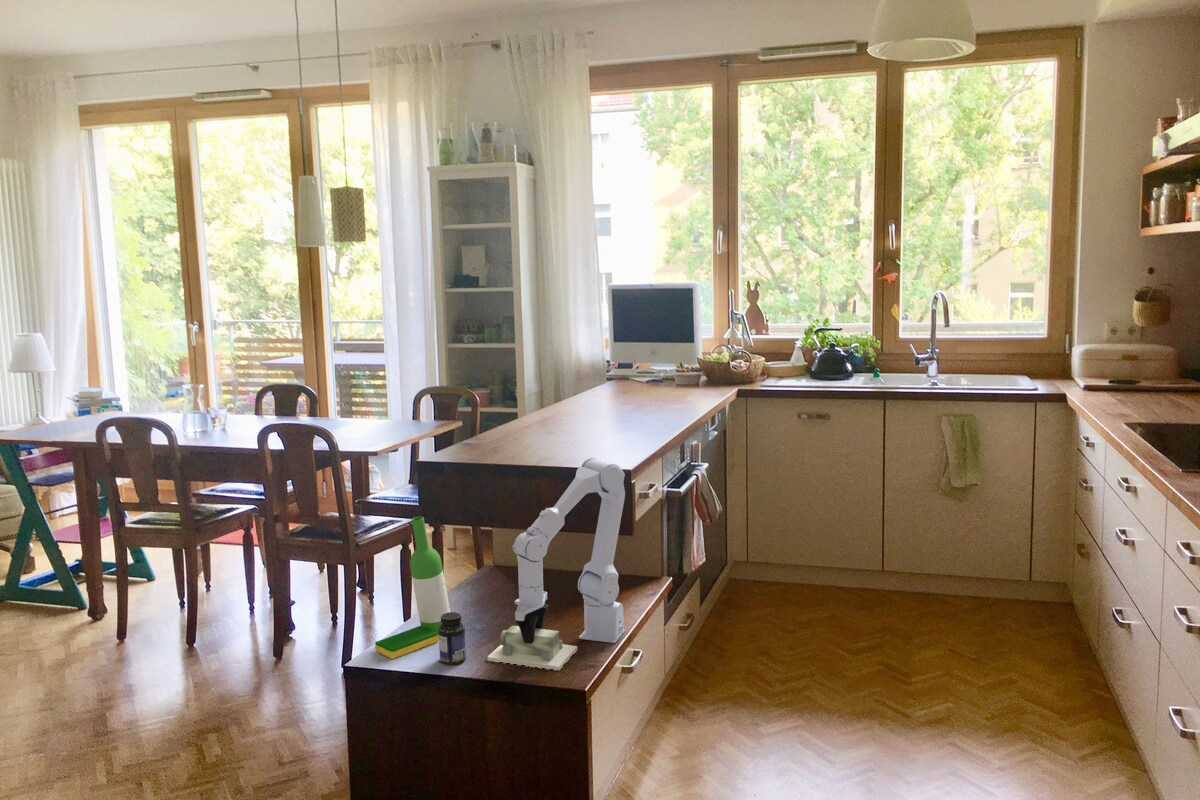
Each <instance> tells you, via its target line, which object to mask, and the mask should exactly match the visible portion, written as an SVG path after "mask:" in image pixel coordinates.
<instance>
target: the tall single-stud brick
mask: <svg viewBox="0 0 1200 800" xmlns="http://www.w3.org/2000/svg"><path fill="white" fill-rule="evenodd" d="M559 640H560V631H559V630H554V629H552V630H551V629H545V628H544V629H543V628H542V629H537V628H535V634H534V641H533V643H532V644H529V643H524V641H523V637H522V634H521V630H520V628H519V626H518V625H511V626H510V627H509V628H507V629H503V630H502V631H501V634H500V636H499V643H500V645H502V646H504V645H505V646H512V653H519V654H527V655H534V656H542V652H543V651H551V652H552V658H554V657H555V656H556V654H557V653H558V652H559Z"/></svg>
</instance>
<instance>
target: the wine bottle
mask: <svg viewBox="0 0 1200 800" xmlns="http://www.w3.org/2000/svg"><path fill="white" fill-rule="evenodd" d="M411 522H412V529H413V533H414V534H413V535H414V541H415V546H416V549H415V550H414V551H413V553H412V555H411V557H410V559H409V567H410V573H411V580H412V584H413V590H414V595H415V596H414V597H415V601H416V607H417V612H418V619H419V622H420V626H423V627H425V628H428V629H431V630H433V631H436V632H438V635H439V631H438V630H439V627H440V625H442V622H441V616H442V615H443V614H445V613H448V612H451V609H450V604H449V597H448V593H447V586H446V581H445V576H444V570H443V564H442V559H441V556H440V554H439V552H438V551H437V550H436V549H434V548H433V547H431V546H430V545H429V540H428V534H427V529H426V524H425V518H424V516H418V515H417V516H414V517H413V518H412V519H411Z"/></svg>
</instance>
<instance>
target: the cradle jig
mask: <svg viewBox="0 0 1200 800" xmlns="http://www.w3.org/2000/svg"><path fill="white" fill-rule="evenodd" d="M563 641H564V640H563V639H559V652H558V653H557V654H556V656H555V657H554V658H552V652H551V651H543V652H542V656H534V655H527V654H519V653H512V646H505V645H504V646H502V645H501V644H500V645H499V646H498V647H496V649H494V650H493V651H492V652H491V653H490V654H489V655H488V656H487V658H486V659H487V662H491V661H492V662H493V661H494V662H493V663H499V662H503V663H502V664H506V663H510V664H509V665H513V664H517V665H516V666H521V665H525V666H524V667H528V666H529V668H535V667H537V668H538V669H542V668H545V669H544V670H550V669H553V670H552V671H557V670H558V672H559V671H561V669H562V668H563V667H564V666H565V665H566V664H567V662H569V660H570V659H571V658H572V657H573V656H572V655H573V654H574V655H575V653H577V651H578V646H577V645H571V644H565V643H563ZM571 656H572V657H571ZM570 657H571V658H570ZM492 662H491V663H492ZM565 663H566V664H565ZM564 664H565V665H564ZM563 665H564V666H563Z"/></svg>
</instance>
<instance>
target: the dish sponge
mask: <svg viewBox="0 0 1200 800" xmlns="http://www.w3.org/2000/svg"><path fill="white" fill-rule="evenodd" d="M434 643H439V634H438V632H436V631H433V630H431V629H428V628H425V627H423V626H421V625H419V626H416V627H414V628H411V629H408V630H405V631H402V632H400V633H397V634H394V635H391V636H388V637H385V638H383V639H380V640H376V641H375V642H374V644H375V652H376V653H378V654H380V655H383V656H385V657H387V658H389V659H392V660H393V659H396V658H399V657H401V656H404V655H406V654H409V653H412V652H415V651H418V650H419V649H422V648H424V647H427V646H430V645H432V644H434Z"/></svg>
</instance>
